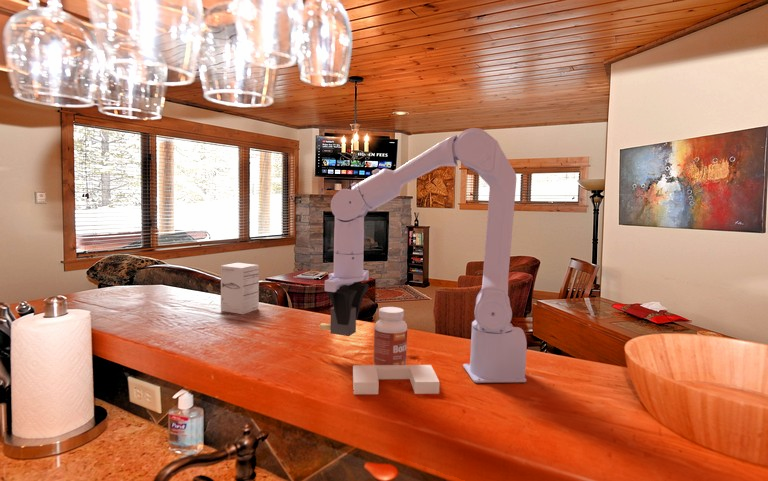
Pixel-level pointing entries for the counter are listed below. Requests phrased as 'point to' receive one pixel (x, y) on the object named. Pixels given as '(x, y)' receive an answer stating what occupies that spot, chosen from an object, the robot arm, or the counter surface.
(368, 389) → the notched board
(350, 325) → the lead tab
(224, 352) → the counter surface
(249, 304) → the supplement box
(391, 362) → the pill bottle
